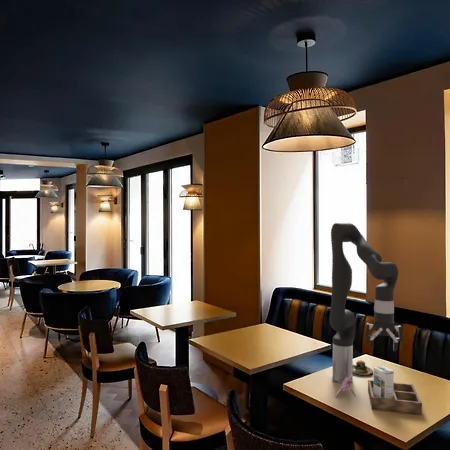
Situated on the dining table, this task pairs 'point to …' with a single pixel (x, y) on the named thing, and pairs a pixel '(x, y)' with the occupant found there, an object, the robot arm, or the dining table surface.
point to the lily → (346, 384)
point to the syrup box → (383, 382)
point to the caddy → (397, 399)
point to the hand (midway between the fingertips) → (383, 349)
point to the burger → (361, 368)
